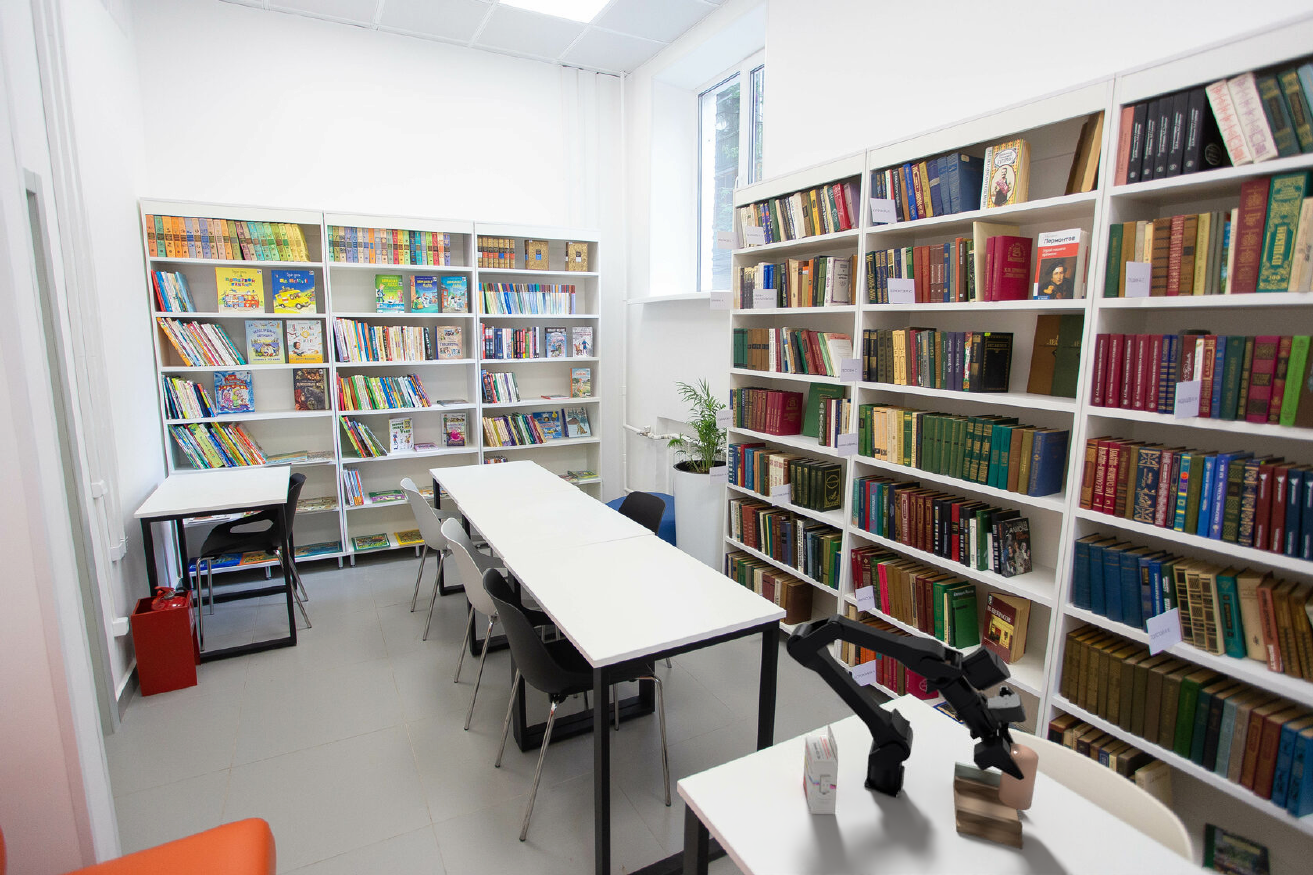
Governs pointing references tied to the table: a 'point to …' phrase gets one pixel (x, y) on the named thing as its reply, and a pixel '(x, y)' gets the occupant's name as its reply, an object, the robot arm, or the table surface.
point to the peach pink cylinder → (1019, 790)
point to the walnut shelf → (983, 806)
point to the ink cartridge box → (821, 772)
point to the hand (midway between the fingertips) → (1021, 769)
